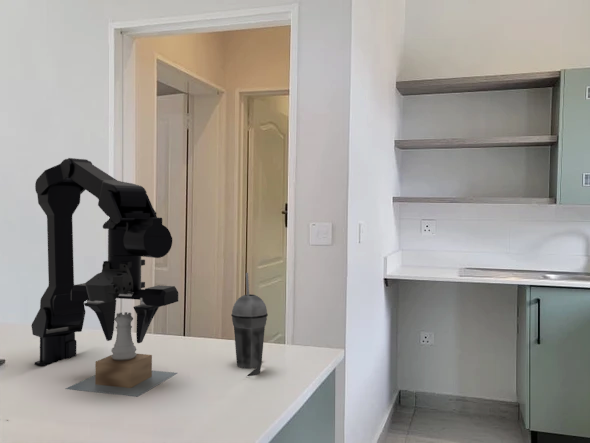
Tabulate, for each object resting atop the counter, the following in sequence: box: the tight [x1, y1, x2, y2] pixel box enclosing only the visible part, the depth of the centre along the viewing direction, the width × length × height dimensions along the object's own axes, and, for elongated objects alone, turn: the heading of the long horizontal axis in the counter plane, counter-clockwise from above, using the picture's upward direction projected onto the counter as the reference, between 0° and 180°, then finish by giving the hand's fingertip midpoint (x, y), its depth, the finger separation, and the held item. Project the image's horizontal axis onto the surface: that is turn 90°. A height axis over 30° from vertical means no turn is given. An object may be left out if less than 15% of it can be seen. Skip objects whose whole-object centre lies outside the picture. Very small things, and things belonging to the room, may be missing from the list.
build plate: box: [64, 370, 178, 398], centre depth 98 cm, size 14×14×2 cm
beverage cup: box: [231, 272, 268, 377], centre depth 109 cm, size 7×7×20 cm
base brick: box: [94, 353, 153, 388], centre depth 98 cm, size 7×7×4 cm
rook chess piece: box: [111, 311, 138, 361], centre depth 98 cm, size 4×4×8 cm
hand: (124, 341), depth 98 cm, fingers open, 6 cm apart
